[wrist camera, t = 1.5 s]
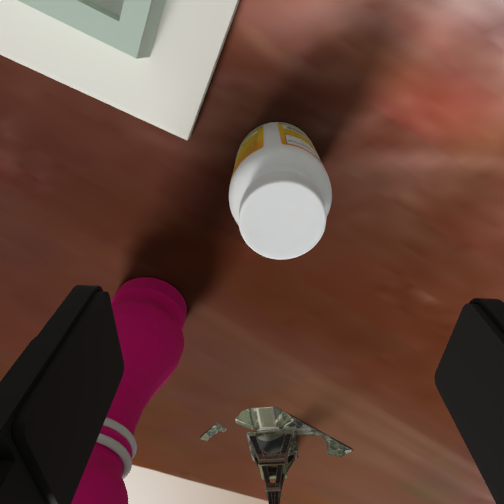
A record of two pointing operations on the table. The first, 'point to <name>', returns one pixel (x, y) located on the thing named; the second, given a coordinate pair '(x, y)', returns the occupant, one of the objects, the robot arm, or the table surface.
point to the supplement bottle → (279, 191)
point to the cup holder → (124, 51)
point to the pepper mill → (134, 381)
